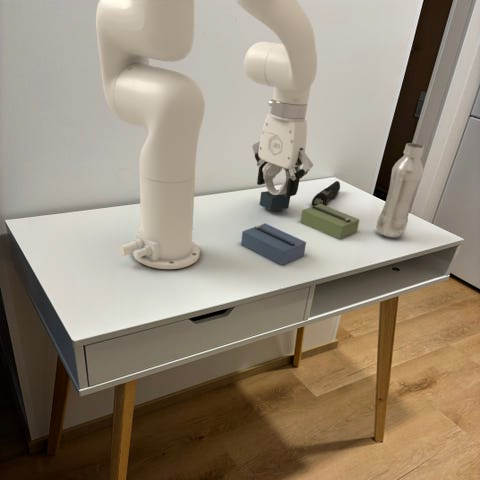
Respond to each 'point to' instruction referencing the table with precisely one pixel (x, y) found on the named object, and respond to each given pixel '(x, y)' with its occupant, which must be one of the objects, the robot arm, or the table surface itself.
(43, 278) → the table surface
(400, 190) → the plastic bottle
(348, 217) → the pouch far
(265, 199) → the watch
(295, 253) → the blue slotted block
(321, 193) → the electric trimmer
